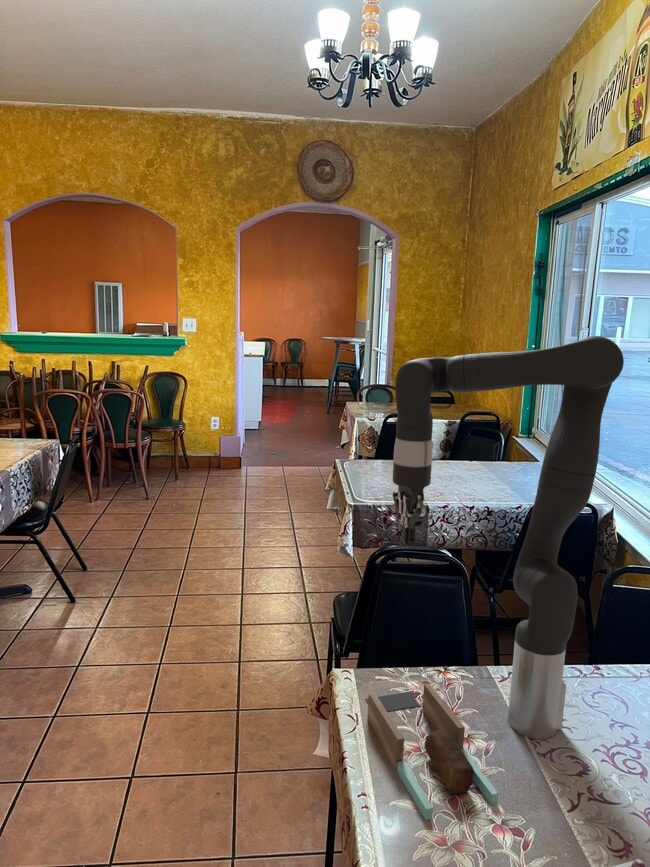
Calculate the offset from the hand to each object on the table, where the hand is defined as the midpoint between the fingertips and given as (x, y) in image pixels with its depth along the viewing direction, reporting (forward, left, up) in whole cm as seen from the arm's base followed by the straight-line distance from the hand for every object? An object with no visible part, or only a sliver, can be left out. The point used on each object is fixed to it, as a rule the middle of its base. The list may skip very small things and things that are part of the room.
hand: (408, 543), depth 130 cm
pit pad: (+4, +5, -32) cm, 33 cm away
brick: (+5, +24, -33) cm, 41 cm away
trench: (+4, +16, -32) cm, 36 cm away
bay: (+4, +29, -32) cm, 43 cm away
